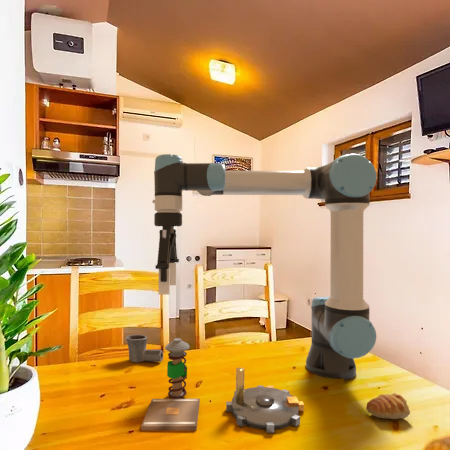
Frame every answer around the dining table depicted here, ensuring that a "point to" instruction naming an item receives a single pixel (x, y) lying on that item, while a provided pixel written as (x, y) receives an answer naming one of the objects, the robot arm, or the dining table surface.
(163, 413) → the pad
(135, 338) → the pipe
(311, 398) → the dining table surface
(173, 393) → the shock absorber
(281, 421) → the sprocket
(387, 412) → the pastry
